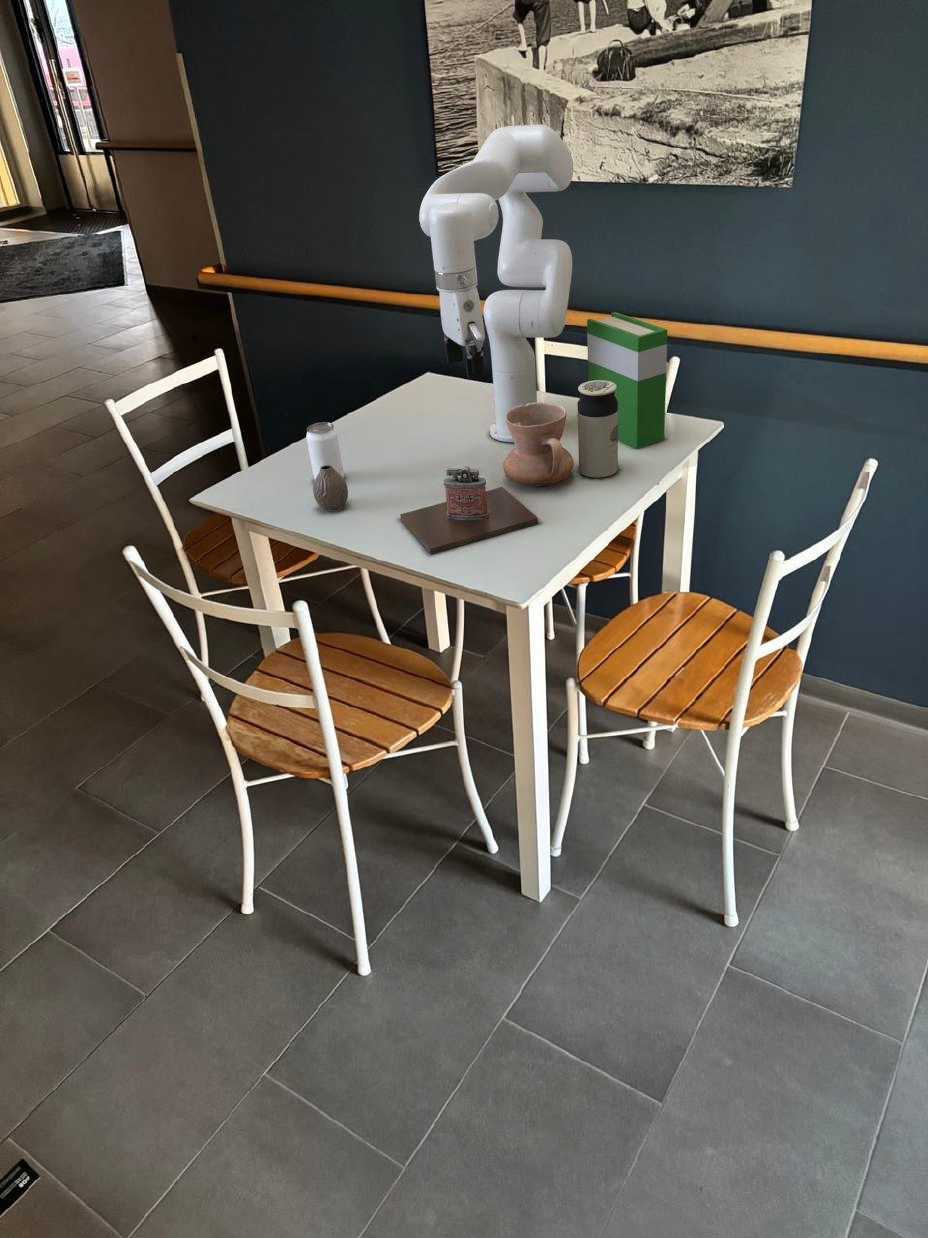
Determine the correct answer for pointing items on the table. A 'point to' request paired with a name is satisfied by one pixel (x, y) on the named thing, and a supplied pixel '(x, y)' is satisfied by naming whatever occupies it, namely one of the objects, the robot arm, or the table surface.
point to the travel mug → (598, 429)
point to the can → (324, 447)
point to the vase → (330, 489)
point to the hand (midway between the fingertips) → (465, 369)
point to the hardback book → (631, 373)
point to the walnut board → (467, 522)
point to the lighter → (465, 494)
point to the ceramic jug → (537, 445)
